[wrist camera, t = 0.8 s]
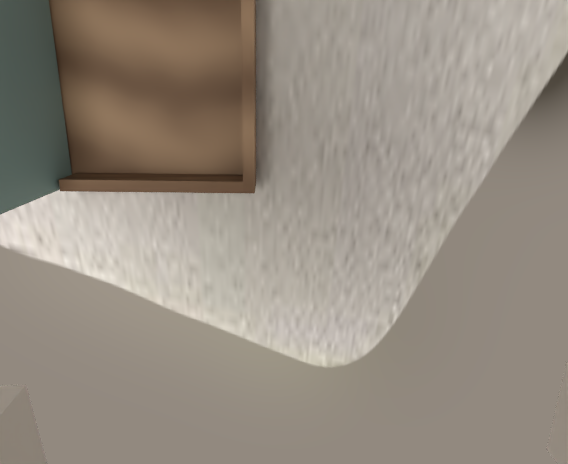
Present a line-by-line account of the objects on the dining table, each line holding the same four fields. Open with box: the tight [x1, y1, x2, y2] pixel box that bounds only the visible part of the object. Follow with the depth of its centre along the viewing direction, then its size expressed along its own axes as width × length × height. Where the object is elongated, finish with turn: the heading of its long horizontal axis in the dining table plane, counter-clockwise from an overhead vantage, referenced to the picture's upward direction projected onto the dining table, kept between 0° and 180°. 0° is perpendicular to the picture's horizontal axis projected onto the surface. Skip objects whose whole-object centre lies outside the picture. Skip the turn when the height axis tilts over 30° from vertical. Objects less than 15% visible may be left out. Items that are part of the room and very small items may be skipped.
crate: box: [49, 0, 256, 193], centre depth 29 cm, size 15×15×4 cm
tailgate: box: [0, 0, 72, 214], centre depth 25 cm, size 15×1×9 cm, turn 179°
